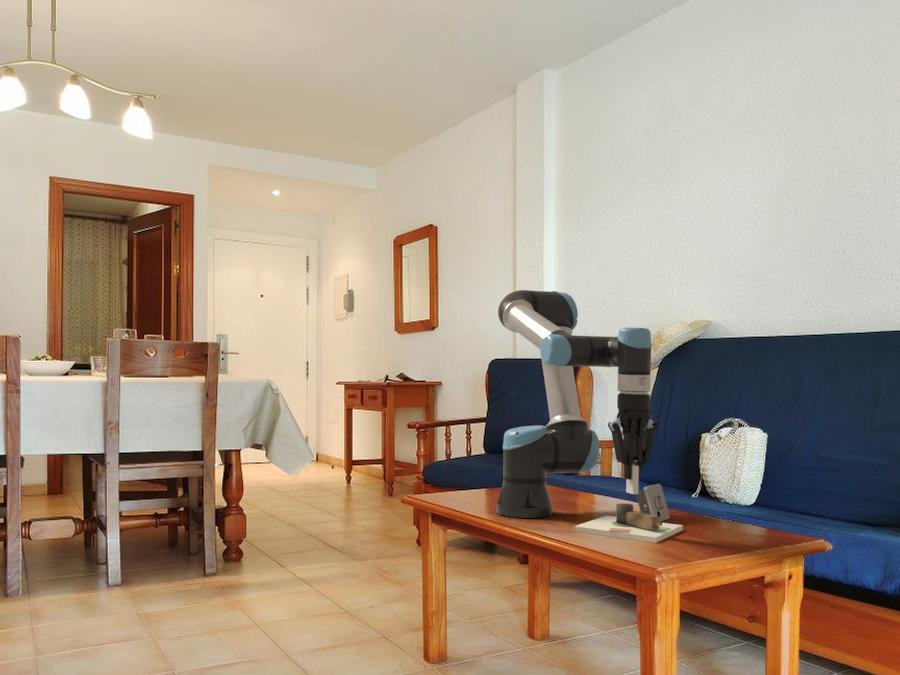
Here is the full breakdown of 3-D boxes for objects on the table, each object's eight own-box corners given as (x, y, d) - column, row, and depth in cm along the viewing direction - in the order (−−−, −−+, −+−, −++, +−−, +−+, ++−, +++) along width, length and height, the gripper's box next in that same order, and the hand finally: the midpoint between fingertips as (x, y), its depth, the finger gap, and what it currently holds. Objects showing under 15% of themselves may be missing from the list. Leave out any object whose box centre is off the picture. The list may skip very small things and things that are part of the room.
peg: (612, 522, 180) (612, 504, 181) (625, 520, 183) (624, 503, 183) (654, 532, 169) (654, 513, 169) (667, 530, 171) (666, 511, 171)
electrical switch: (656, 524, 187) (652, 487, 188) (637, 523, 190) (633, 487, 191) (670, 519, 194) (667, 483, 195) (652, 518, 197) (648, 483, 198)
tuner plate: (573, 531, 176) (573, 525, 176) (606, 520, 191) (606, 514, 191) (655, 543, 165) (655, 536, 165) (682, 530, 179) (682, 524, 179)
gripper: (619, 393, 169) (618, 497, 168) (666, 393, 174) (665, 494, 173) (601, 391, 176) (599, 491, 175) (646, 392, 181) (645, 488, 180)
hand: (632, 492), depth 174 cm, fingers closed
